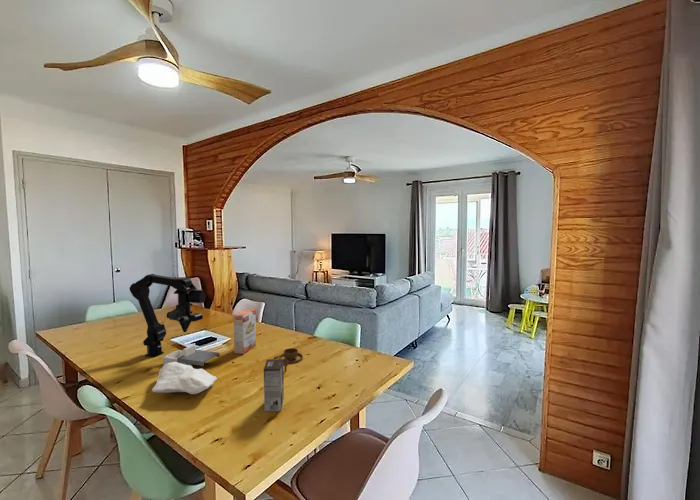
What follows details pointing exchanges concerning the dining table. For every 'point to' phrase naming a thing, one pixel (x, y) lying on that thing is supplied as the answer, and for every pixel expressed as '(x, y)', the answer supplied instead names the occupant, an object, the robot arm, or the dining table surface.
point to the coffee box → (273, 385)
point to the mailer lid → (196, 356)
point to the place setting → (290, 356)
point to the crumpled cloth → (182, 379)
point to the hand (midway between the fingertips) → (184, 332)
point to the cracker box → (244, 331)
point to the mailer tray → (173, 357)
